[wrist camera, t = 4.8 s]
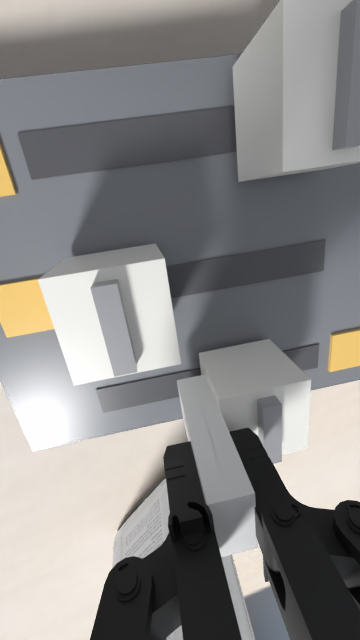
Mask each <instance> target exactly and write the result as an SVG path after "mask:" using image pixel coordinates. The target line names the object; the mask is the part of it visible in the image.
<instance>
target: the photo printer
mask: <svg viewBox="0 0 360 640" xmlns="http://www.w3.org/2000/svg"><path fill="white" fill-rule="evenodd" d="M169 514H170V509H169V501H168V492H167V484H166V478H165V479H164V480H163V481H162V482H161V483H160V484H159V485H158V486H157V487H156V489H155V490H154V491H153V492H152V493H151V494H150V495H149V496H148V497H147V498H146V499H145V500H144V502H143V503H142V504H141V505H140V506H139V507H138V508H137V509H136V511H135V512H134V513H133V514H132V515H131V516H130V517H129V518H128V519H127V521H126V522H125V523H124V524H123V525H122V527H121V528H120V529H119V531H118V532H117V535H116V537H115V541H114V551H113V567H114V566H115V565H116V563H118V562H119V561H121V560H122V559H124V558H127V557H131V556H135V557H139V558H142V559H143V558H144V557H146V556H147V555H149V554H150V553H152V552H153V551H155V550H156V549H157V548H158V547H159V546H161V545H162V543H163V542H164V541H165V539H166V537H167V535H168V533H169V529H168V516H169ZM221 558H222V562H223V566H224V570H225V574H226V578H227V582H228V586H229V590H230V594H231V598H232V602H233V606H234V610H235V614H236V618H237V622H238V626H239V630H240V634H241V638H242V640H255V638H254V634H253V630H252V627H251V623H250V619H249V616H248V612H247V608H246V604H245V601H244V597H243V593H242V590H241V586H240V582H239V579H238V575H237V571H236V568H235V564H234V560H233V557H232V554H231V555H228V556H224V557H221ZM166 640H183V634H182V625H181V626H180V627H178V628H177V629H176V630H175V631H174V632H172V633H171V634H170V635H169V636H168V637H166Z"/></svg>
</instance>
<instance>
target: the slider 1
mask: <svg viewBox="0 0 360 640" xmlns="http://www.w3.org/2000/svg"><path fill="white" fill-rule="evenodd" d="M232 68H233V87H234V107H235V127H236V146H237V166H238V182H242V181H249V180H256V179H263V178H270V177H277V176H283V175H290V174H297V173H304V172H311V171H318V170H324V169H330V168H335V167H340V166H345V165H351V164H356V163H360V0H280V1H279V3H278V4H277V5H276V7H275V8H274V10H273V11H272V12H271V14H270V15H269V16H268V18H267V19H266V21H265V22H264V23H263V25H262V26H261V28H260V29H259V30H258V32H257V33H256V35H255V36H254V37H253V39H252V40H251V42H250V43H249V44H248V46H247V47H246V49H245V50H244V51H243V53H242V54H241V56H240V57H239V58H238V60H237V61H236V63H235V64H234V65H233V67H232Z"/></svg>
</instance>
